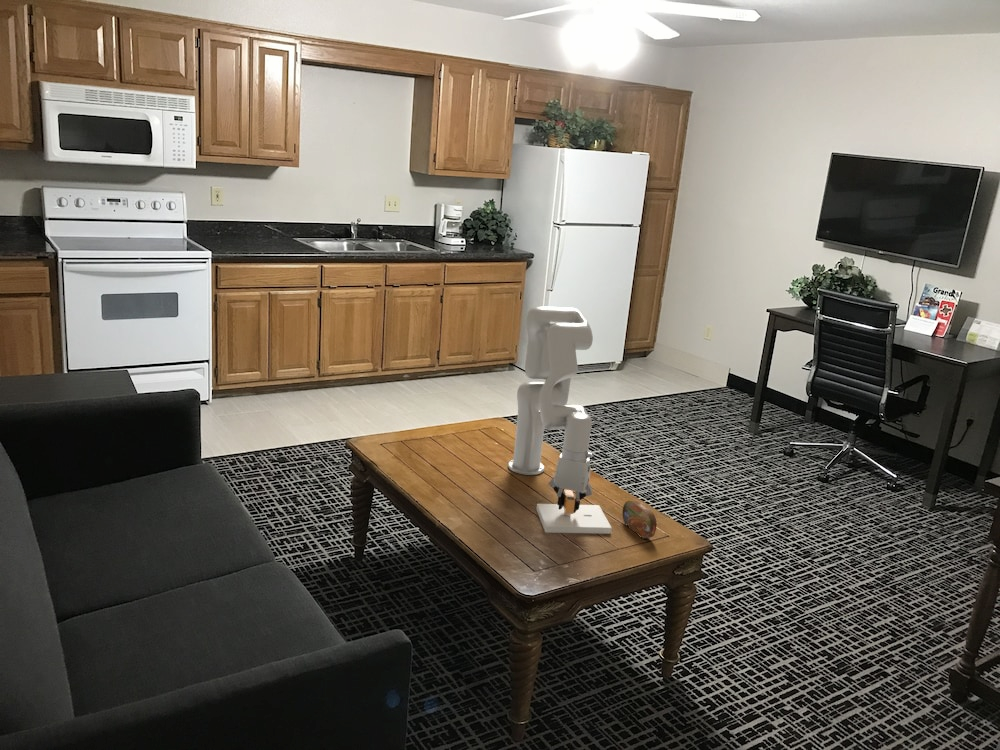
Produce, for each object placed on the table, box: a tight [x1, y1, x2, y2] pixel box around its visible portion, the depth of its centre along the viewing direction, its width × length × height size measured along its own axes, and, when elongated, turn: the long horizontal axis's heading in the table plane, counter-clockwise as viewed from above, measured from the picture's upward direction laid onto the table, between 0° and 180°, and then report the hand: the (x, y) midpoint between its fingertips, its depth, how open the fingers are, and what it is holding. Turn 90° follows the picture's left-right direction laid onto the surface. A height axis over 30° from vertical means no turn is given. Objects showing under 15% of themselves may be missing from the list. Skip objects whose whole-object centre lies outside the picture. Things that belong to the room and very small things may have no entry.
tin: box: [622, 500, 658, 539], centre depth 242 cm, size 15×3×8 cm, turn 23°
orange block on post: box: [563, 489, 576, 514], centre depth 243 cm, size 7×2×5 cm, turn 2°
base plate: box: [536, 503, 612, 535], centre depth 245 cm, size 15×20×4 cm
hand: (567, 508), depth 244 cm, fingers closed on orange block on post, 3 cm apart
